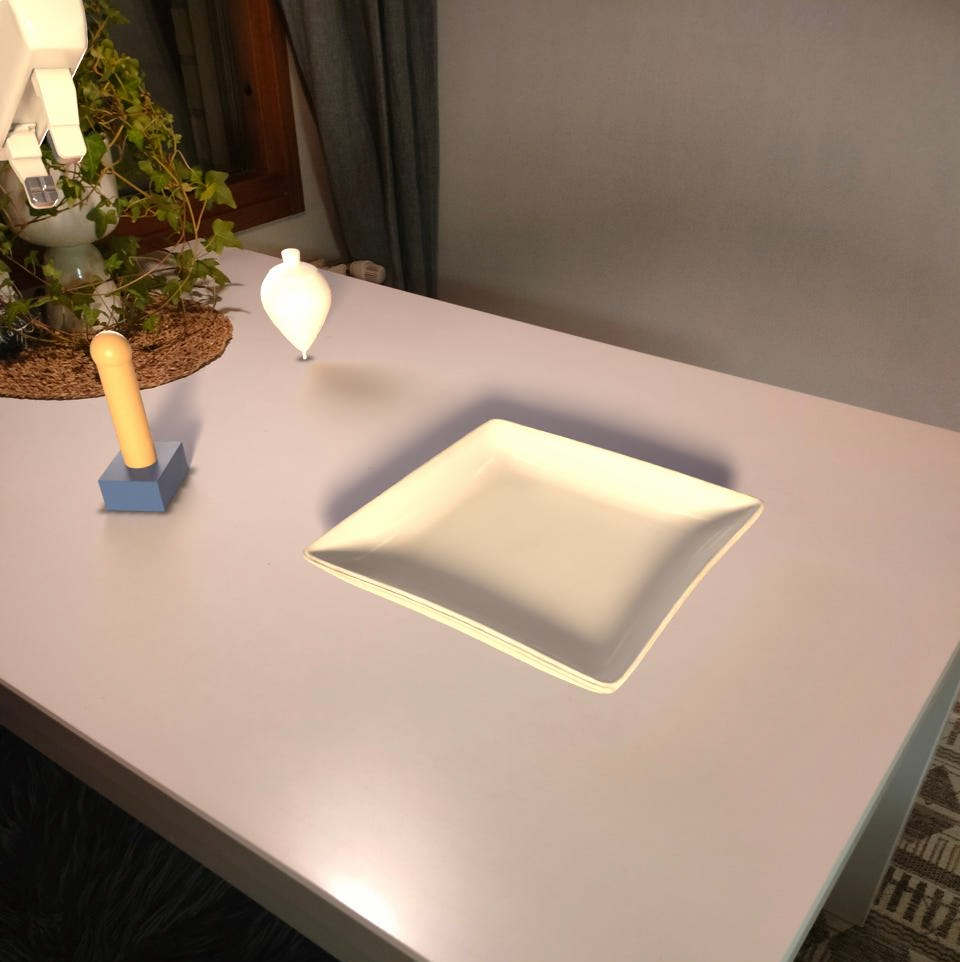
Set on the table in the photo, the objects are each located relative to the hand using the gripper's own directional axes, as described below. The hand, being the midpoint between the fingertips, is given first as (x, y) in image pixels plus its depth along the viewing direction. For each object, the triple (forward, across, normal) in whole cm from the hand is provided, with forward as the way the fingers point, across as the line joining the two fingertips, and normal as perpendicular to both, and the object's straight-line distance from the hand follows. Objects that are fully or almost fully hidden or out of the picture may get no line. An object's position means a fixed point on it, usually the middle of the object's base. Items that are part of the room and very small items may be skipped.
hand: (58, 184), depth 63 cm
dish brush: (+22, -16, +4) cm, 27 cm away
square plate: (+35, +12, +24) cm, 44 cm away
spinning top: (+12, -29, +29) cm, 43 cm away
